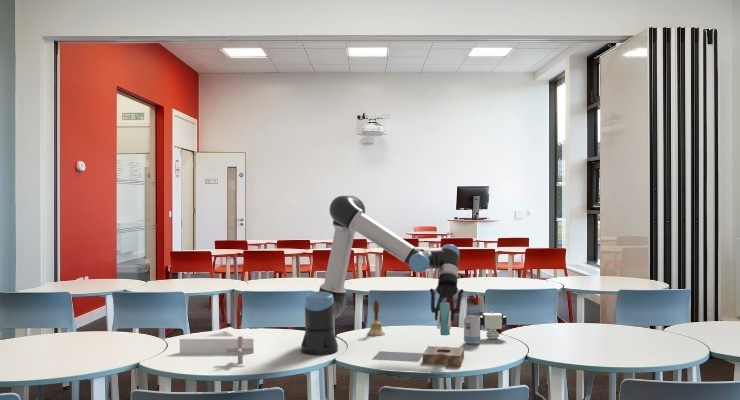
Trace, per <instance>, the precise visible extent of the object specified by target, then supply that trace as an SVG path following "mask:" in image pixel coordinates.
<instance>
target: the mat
mask: <svg viewBox="0 0 740 400" xmlns="http://www.w3.org/2000/svg"><path fill="white" fill-rule="evenodd" d="M423 353H424V352H423ZM423 353H422V352H404V351H387V350H386V351H383V350H382V351H381V350H380V351H378V353H377V354H375V356H373V358H371V360H374V361H375V360H377V361H393V362H394V361H396V362H414V363H419V362H420V360H421V358H423Z"/></svg>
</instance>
